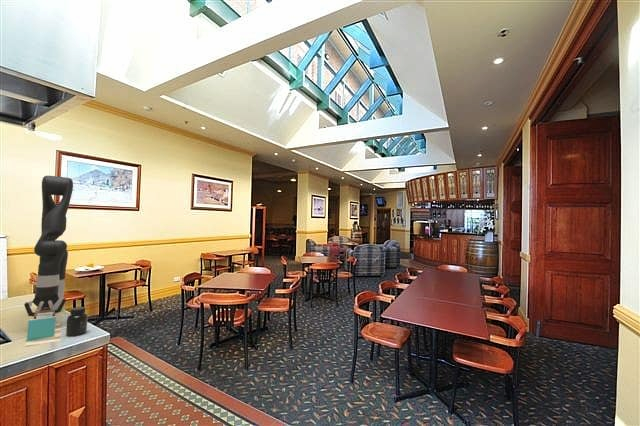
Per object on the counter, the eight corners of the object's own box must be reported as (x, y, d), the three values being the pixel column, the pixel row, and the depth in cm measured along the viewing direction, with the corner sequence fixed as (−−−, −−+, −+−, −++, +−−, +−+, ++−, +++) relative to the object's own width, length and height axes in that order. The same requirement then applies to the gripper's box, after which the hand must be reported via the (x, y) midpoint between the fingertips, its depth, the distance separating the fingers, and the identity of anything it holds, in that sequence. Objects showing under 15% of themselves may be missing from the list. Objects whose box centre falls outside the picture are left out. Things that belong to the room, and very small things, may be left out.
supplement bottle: (84, 332, 126) (86, 305, 127) (88, 336, 122) (90, 308, 123) (63, 336, 121) (66, 308, 122) (67, 341, 117) (69, 311, 117)
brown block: (36, 325, 125) (37, 309, 125) (51, 322, 128) (53, 307, 129) (34, 332, 117) (36, 315, 117) (51, 329, 120) (52, 313, 121)
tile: (26, 339, 113) (28, 319, 114) (54, 335, 119) (55, 316, 119) (26, 341, 112) (28, 320, 113) (54, 336, 118) (55, 317, 118)
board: (29, 329, 126) (29, 326, 126) (59, 324, 133) (60, 322, 133) (24, 350, 107) (25, 346, 107) (60, 343, 114) (60, 340, 114)
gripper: (68, 281, 134) (65, 318, 133) (25, 285, 124) (21, 324, 123) (69, 284, 128) (65, 322, 127) (24, 288, 119) (19, 329, 118)
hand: (43, 323), depth 125 cm, fingers closed on brown block, 4 cm apart
